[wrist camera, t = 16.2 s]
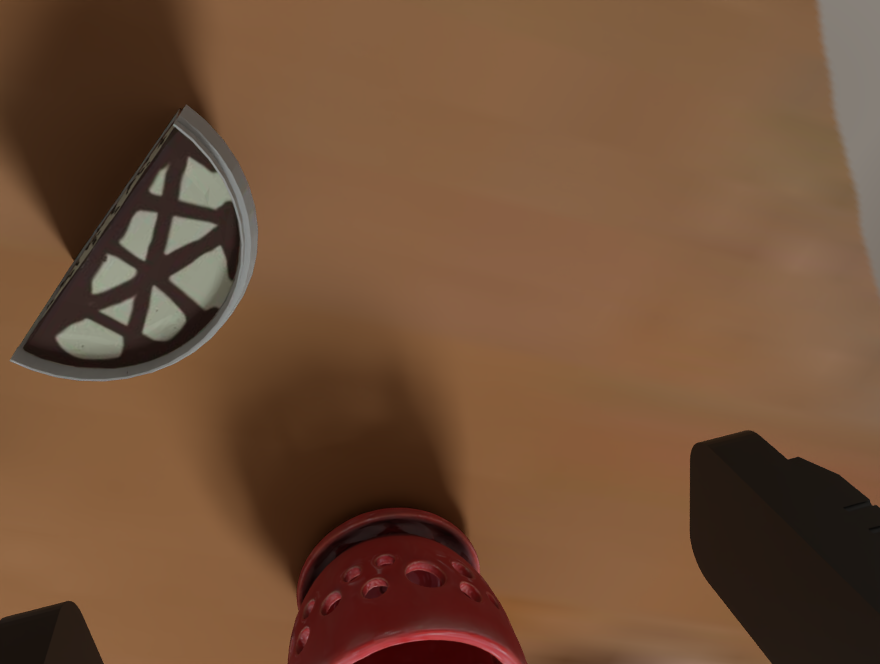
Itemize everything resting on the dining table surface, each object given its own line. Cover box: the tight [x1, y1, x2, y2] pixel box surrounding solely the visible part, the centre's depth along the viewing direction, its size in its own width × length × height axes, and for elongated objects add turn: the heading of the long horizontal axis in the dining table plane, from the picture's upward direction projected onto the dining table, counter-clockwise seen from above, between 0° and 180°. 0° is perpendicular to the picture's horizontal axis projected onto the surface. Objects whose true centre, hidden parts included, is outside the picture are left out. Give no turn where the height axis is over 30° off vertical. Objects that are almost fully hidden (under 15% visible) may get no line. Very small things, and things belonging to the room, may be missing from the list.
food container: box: [10, 104, 258, 381], centre depth 35 cm, size 12×6×10 cm, turn 140°
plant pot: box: [288, 508, 527, 664], centre depth 45 cm, size 13×13×12 cm
